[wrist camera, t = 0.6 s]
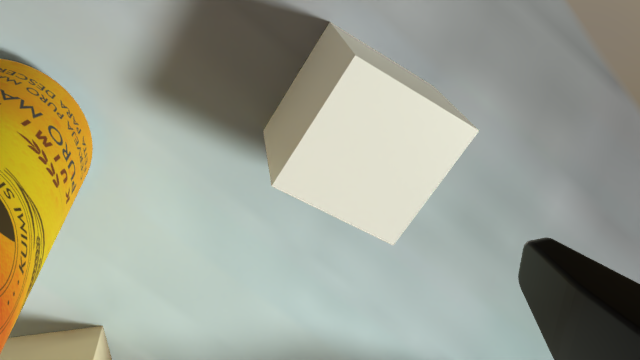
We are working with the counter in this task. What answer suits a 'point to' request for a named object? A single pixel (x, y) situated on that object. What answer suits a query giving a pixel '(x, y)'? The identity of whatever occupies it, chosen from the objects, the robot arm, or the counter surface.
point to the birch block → (59, 346)
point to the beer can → (34, 177)
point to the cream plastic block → (363, 137)
